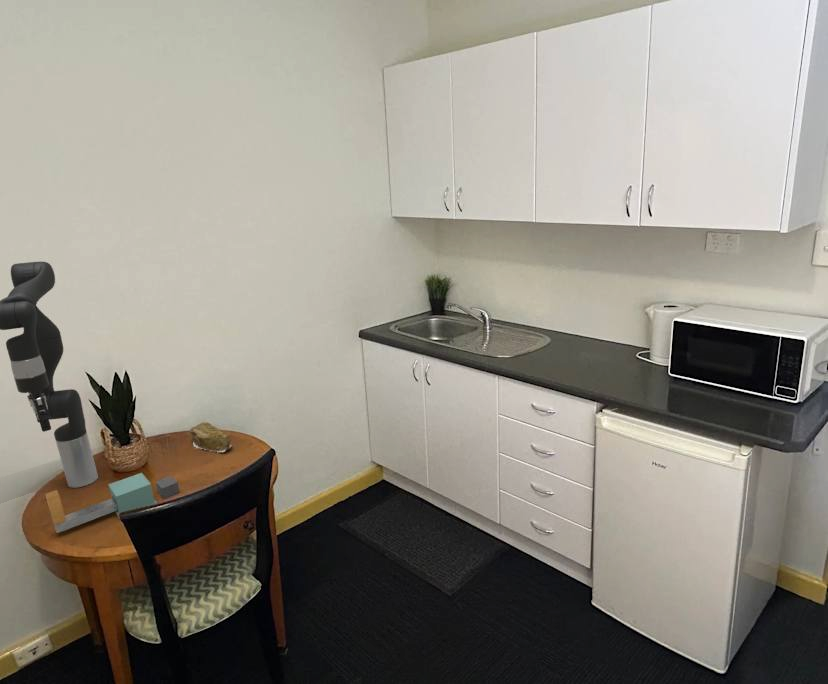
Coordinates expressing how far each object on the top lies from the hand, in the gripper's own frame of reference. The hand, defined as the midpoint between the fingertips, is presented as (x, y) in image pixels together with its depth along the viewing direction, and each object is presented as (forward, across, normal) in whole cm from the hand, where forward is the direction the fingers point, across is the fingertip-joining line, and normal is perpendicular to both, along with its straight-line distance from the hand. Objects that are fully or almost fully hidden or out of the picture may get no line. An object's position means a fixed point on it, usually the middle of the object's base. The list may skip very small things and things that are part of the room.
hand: (44, 425), depth 166 cm
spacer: (+30, +4, +25) cm, 40 cm away
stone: (+32, -19, +51) cm, 63 cm away
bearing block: (+32, +4, +17) cm, 37 cm away
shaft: (+31, +4, +7) cm, 32 cm away
